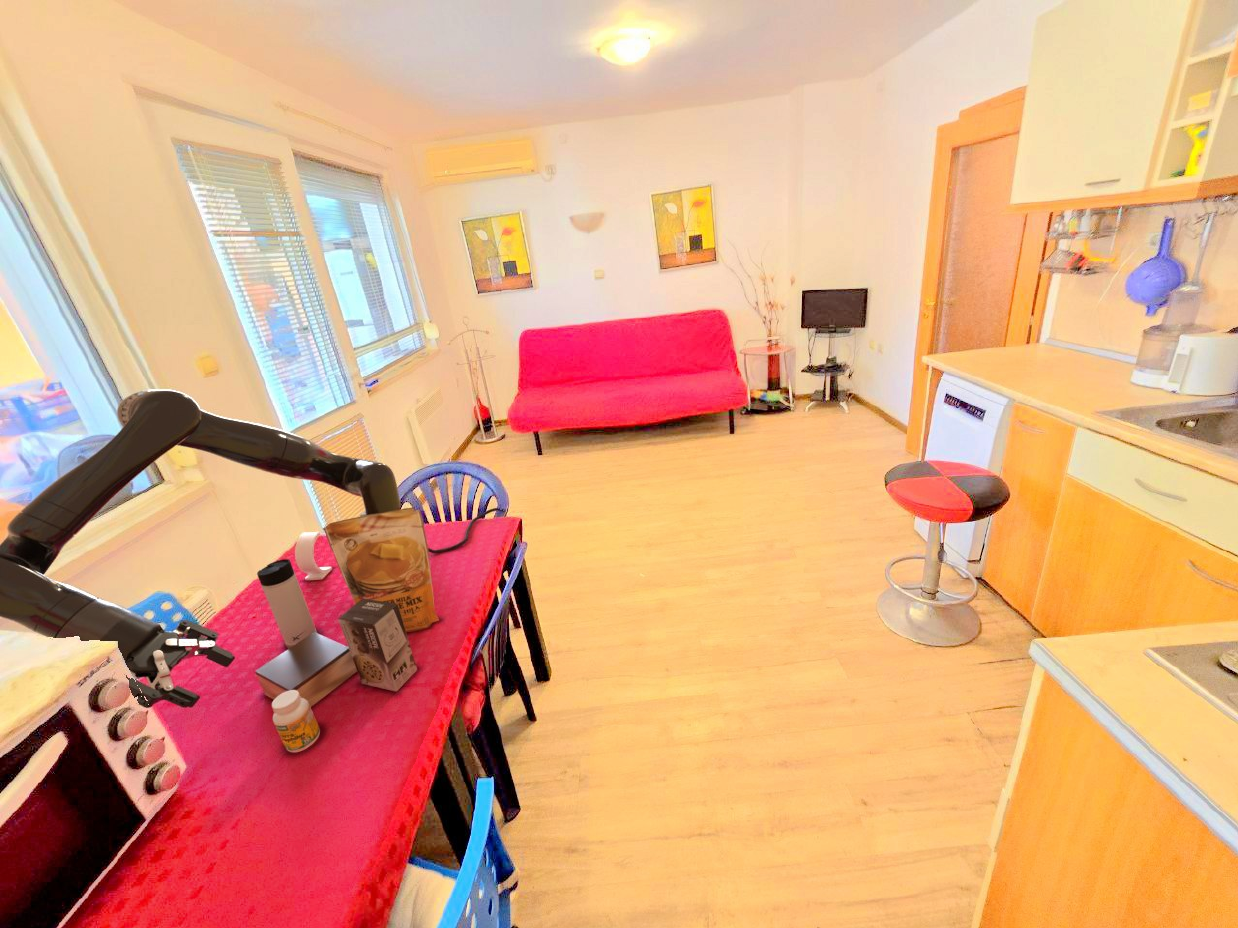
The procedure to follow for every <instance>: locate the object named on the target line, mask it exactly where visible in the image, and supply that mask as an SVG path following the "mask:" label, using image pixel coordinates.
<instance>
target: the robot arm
mask: <svg viewBox="0 0 1238 928" xmlns="http://www.w3.org/2000/svg"><path fill="white" fill-rule="evenodd" d="M116 416H117V419H118V422H119V423H120V425H121V427H122V428H121V429H120V430H119V432H117V434H116V435H115V436H114V437H113V438H112V439H110V440H109V441H108V442H107V443H106V444H105V445H104V446H103V447H101V448H100V449H99V450H98V451H97V452H95V453H94V454H93V455H91V456H90V457H88V458H87V459H85V460H84V461H82V462H81V463H80V464H78V465H77V466H75V467H73V468H72V469H70V470H69V471H68V472H66V473H65V474H63V475H61V476H60V477H59V478H57V479H56V480H55V481H54V482H51V484H50V485H48V486H47V487H46V488H45V489H44V490H42V491H41V492H40V493H39V494H38V495H36V497H35V498H33V500H31V501H30V502H29V503H28V504H27V505H26V506H25V507H24V508H23V509H22V510H20V511H19V512H18V513H17V514H16V515H15V516H14V517H13V518H12V519H11V520H10V521H9V523H8V524H7V528H6V529H7V532H8V535H7V536H6V538H5V539H3V540H2V542H1V543H0V618H2V619H6V620H10V621H12V622H15V623H17V624H19V625H21V626H23V627H25V628H26V629H28V630H31V632H34V633H37V634H39V635H41V636H44V637H46V638H48V637H53V638H66V637H74V636H79V637H80V640H81V641H89V640H100V641H118V648H119V650H120V652H121V653H122V656H123V658H124V660H125V663H126V665H127V667H128V668H129V670H130V672H131V674H132V676H133V677H134V678H135V680H136V682H135V680H134V679H133V678H131V679H130V678H128V677H127V675H126V678H127V679H128V680H129V688H130V690H131V693H132V695H133V696H134V698H135V697H137V696H138V699H137V701H138V703H139V704H138V705H139V706H141V707H143V708H145V709H150V708H152V707H153V706H154V705H155V704H157V703H159V702H161V701H167V702H169V703H171V704H173V705H176V706H179V707H181V708H185V709H187V708H193V707H194V706H195V705H196V704H198V703H197V702H198V701H199V700H200V698H201V696H200V695H199V694H198V693H195V692H193V691H191V690H188V689H186V688H184V687H181V686H180V685H176V686H175V685H174V683H173V681H172V679H171V672H172V670H173V669H174V667H176V666H178V665H179V664H180V663H181V662H182V661H183V660H187V659H191V658H193V657H205V659H207V660H209V661H211V662H214V663H215V664H218V665H220V666H222V667H224V668H228V667H229V666H230V665H232V663H233V662H234V660H235V659H236V656H234V654H233V653H232V652H231V651H229V650H227V649H225V648H222V647H220V646H218V645H217V644H216V641H217V640H218V639H217V638H218V637H219V633H218V632H217V631H215V630H212V629H209V628H207V627H206V626H203V625H201V624H198V623H196V622H193V621H191V620H189V619H181V621H180V622H179V623H178V625H177V626H176V627H175V629H173V631H169V630H165V629H163V627H162V626H161V624H159V623H158V622H156V621H153V620H151V619H149V618H147V617H146V616H143V615H140V614H139V613H137V612H134V611H132V610H130V609H128V608H126V607H123V605H120V604H117V603H114V602H112V601H108V600H105V599H103V598H100V597H98V596H97V595H94V594H91V593H89V592H87V591H85V590H84V589H81V588H79V587H77V586H74V585H71V584H67V583H65V582H60V581H57V580H55V579H53V578H50V577H48V576H47V575H45V574H46V573H47V571H48V570H49V569H50V567H51V566H52V565H53V563H54V562H55V561H56V559H57V558H58V556H59V555H60V553H61V551H62V550H63V548H64V547H65V546H66V545H67V544H68V543H69V542H71V540H73V539H74V538H75V536H77V535H78V534H79V533H80V531H82V530H83V529H84V528H85V527H86V526H87V525H88V524H89V523H90V522H91V521H92V520H93V519H94V518H95V517H96V516H97V515H98V514H99V513H100V512H101V511H102V510H103V509H104V508H105V506H107V504H109V503H110V502H111V501H112V500H113V499H114V498H115V497H116V496H117V495H119V493H120V492H121V491H122V490H123V489H124V488H125V487H126V486H128V485H129V484H130V483H131V482H132V481H133V480H134V479H136V478H137V477H138V476H140V474H141V473H142V472H144V471H145V470H146V469H147V468H148V467H150V466H151V465H152V464H154V463H155V462H156V461H157V460H158V459H159V458H162V456H164V455H165V454H167V453H168V452H169V451H171V450H172V449H174V448H175V447H176V446H178V447H184V448H189V449H194V450H198V451H202V452H204V453H205V452H206V453H209V454H212V455H214V456H217V457H221V458H222V459H226V460H228V461H231V462H234V463H237V464H240V465H243V466H246V467H249V468H253V469H255V470H259V471H262V472H265V473H269V474H273V475H277V476H280V477H285V478H291V479H296V480H303V481H313V482H319V483H322V484H326V485H329V486H331V487H334V488H336V489H339V490H341V491H344V492H346V493H348V494H350V495H353V496H356V497H359V498H362V502H363V506H364V510H363V511H361V513H360V515H359V517H360V516H365V515H371V514H378V513H385V512H390V511H395V510H400V509H401V498H400V493H399V489H398V483H397V480H396V476H395V474H394V472H393V470H392V469H391V467H390V466H389V465H387V464H386V463H383V462H379V461H374V460H369V459H361V458H356V457H351V456H347V455H346V456H345V455H343V454H342V455H341V454H337V453H334V452H331V451H329V450H327V449H325V448H323V447H321V446H320V445H318V444H316V443H314V442H313V441H311V440H309V439H306V438H304V437H302V436H299V435H297V434H294V433H291V432H288V431H285V430H283V429H279V428H277V427H271V426H268V425H263V424H260V423H254V422H249V421H244V420H239V419H234V418H233V419H232V418H228V417H224V416H219V415H216V414H213V413H211V412H207V411H206V410H203V409H200V406H199V404H198V403H197V401H195V400H194V399H193V398H192V397H191V396H189V395H187V394H185V393H183V392H180V391H176V390H172V389H146V390H141V391H137V392H134V393H132V394H130V395H128V396H126V397H125V398H124V399H122V400H121V401H120V402H119V404H118V406H117V410H116ZM498 508H499V509H498ZM500 508H501V507H494V508H490V509H488V510H486V511H484V512H482V513H480V514H479V515H477V516H476V517H474V518H473V519H472V520H471V521H470V522H469V524H468V526H467V528H466V530H465V536H464V539H462V540H461V541H460V542H458V543H456V544H454V545H452V546H449V547H444V548H440V549H432V548H431V547H428V550H429V553H431V554H442V553H445V552H449V551H452V550H456V549H457V548H459V547H461V546H463V545H464V544H465V543H467V541H469V537H470V531H471V530H472V527H473V525H474V523H475V522H476V521H478V520H479V519H481V518H483V517H484V516H486V515H488V514H491V513H493V512H506V511H507V510H506V509H505V511H503V509H504V508H503V509H502V510H500ZM138 678H139V679H140V678H146V680H147V683H148V684H145V683H144V682H141V681H139V679H138ZM137 685H138V686H137ZM139 688H140V689H141V691H142V693H141V691H140V689H139ZM141 696H142V697H141ZM144 696H145V697H146V699H147V700H148V701H146V700H145V698H144ZM148 704H149V705H148Z"/></svg>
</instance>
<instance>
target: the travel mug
mask: <svg viewBox="0 0 1238 928" xmlns="http://www.w3.org/2000/svg"><path fill="white" fill-rule="evenodd" d="M256 575H257V577H258V580H259V582H260V586H261V588H262V591H263V593H264V595H265V598H266V600H267V603H268V606H269V608H270V610H271V614H272V616H273V618H274V620H275V622H276V625H277V627H278V630H279V632H280V635H281V637H282V640H283V641H284V645H285V647H286V648H287V649H289V648H291V647H292V646H294V645H295V644H297V643H298V642H300V641H301V640H303V639H304V638H306V637H307V636H309V635H311V634H312V633H314V632H315V633H318V630H317V628H316V626H315V622H314V620H313V617H312V614H311V612H310V609H309V607H308V604H307V601H306V599H305V596H304V593H303V590H302V589H301V585H300V583H299V580H298V577H297V575H296V572H295V570H294V568H293V565H292V562H291V560H290V559H289V558H284V559H283V558H282V559H279V560H276V561H273V562H270V563H268V564H267V565H266V566H265V567H263V568H262V569H259V570H258V571H257V573H256Z"/></svg>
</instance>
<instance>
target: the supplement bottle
mask: <svg viewBox="0 0 1238 928" xmlns="http://www.w3.org/2000/svg"><path fill="white" fill-rule="evenodd" d="M271 708H272V711H273V715H272V722H273V725H274V726H275V729H276V731H277V733H278V735H279V737H280V740H281V742H282V744H283V746H284V748H285V750H286V751H288V752H289V753H294V754H295V753H299V752H302V751H304V750H307V749H308V748H309V747H311V746H312V745H313V744H314V743H316V741H317V740H318V739H319V737H320V735H321V734H320V733H321V728H320V725H319V724H318V721H317V719H316V716H315V714H314V712H313V710H312V707H310V705H309V703H308V701H307V700H306V699H304V698H301V696H300V694H299V692H298V691H296V690H289V691H286V692H284V693H282V694H280V695H279V696H277V697H276V698H275V699H273V701H271Z"/></svg>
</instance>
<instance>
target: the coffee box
mask: <svg viewBox="0 0 1238 928" xmlns="http://www.w3.org/2000/svg"><path fill="white" fill-rule="evenodd" d="M337 620H338V622H339V623H338V624H339V625H340V628H341V631H342V634H343V636H344V639H345V642H346V644H347V645H346V646H347V647H349V650H350V653H351V655H352V658H353V661H354V664H355V666H356V669H357V672H356V673H357V675H358V677H359V680H360V683H361V685H366V686H370V687H375V688H379V689H383V690H386V691H387V690H388V691H391V692H392V691H393V692H395V693H396V692H398V691H399V690H400V689H401V688H402V687H403V686H404V684H406V683H407V681H408V680H409V679H410V678H411V677H412V676H413V675H414V674H415V673H416V672H418V667H417V665H416V664H417V663H416V661H415V657H414V655H413V651H412V647H411V644H410V640H409V637H408V634H407V632H406V630H405V627H404V624H403V620H402V617H401V613H400V610H399V607H398V604H396V603H389V602H383V601H376V600H370V599H361V600H360V601H359V602H357V603H356V604H353V605H352V606H351V607H350V608H349V609H348V610H346V611H345V612H344V613H343V614H341V615H340V616H339V617H338V618H337Z"/></svg>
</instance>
